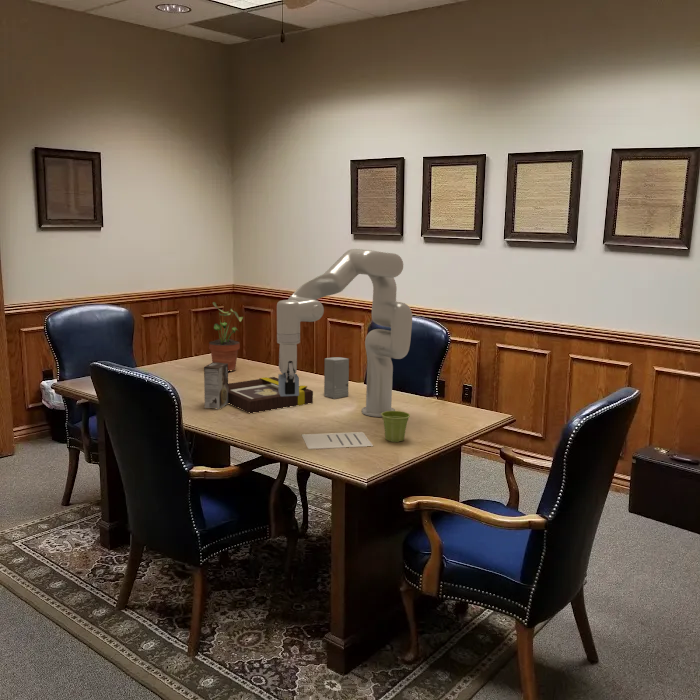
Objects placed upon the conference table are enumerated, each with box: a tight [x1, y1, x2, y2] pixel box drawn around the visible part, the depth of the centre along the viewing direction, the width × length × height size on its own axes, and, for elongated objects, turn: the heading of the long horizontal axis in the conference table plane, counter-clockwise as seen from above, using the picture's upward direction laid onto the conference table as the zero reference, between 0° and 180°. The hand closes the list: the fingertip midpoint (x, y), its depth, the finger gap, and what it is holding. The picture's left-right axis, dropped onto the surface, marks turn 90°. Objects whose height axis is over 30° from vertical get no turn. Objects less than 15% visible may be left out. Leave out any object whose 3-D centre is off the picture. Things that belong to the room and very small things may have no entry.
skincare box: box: [323, 356, 350, 400], centre depth 292 cm, size 8×7×16 cm
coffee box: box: [203, 362, 229, 410], centre depth 272 cm, size 9×6×16 cm
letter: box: [301, 431, 374, 450], centre depth 235 cm, size 15×21×1 cm
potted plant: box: [208, 301, 244, 372], centre depth 332 cm, size 16×15×35 cm
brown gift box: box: [228, 376, 314, 414], centre depth 283 cm, size 28×7×30 cm
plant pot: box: [381, 410, 411, 443], centre depth 237 cm, size 9×9×9 cm
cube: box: [277, 373, 300, 396], centre depth 238 cm, size 6×6×6 cm
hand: (288, 391), depth 238 cm, fingers closed on cube, 6 cm apart
